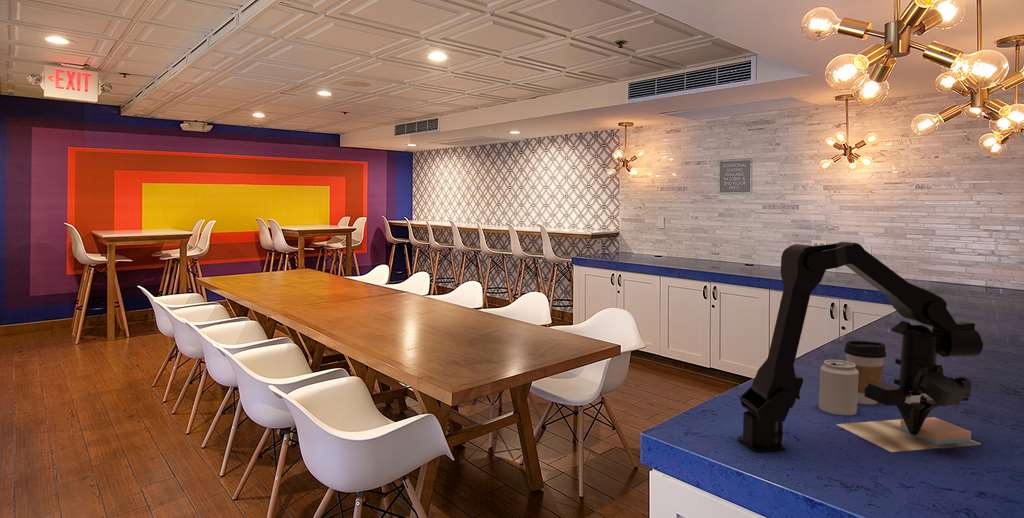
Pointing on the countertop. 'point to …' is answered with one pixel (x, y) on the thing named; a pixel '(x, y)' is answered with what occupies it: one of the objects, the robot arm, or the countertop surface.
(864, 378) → the coffee cup
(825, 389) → the can
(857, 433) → the board
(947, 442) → the tile
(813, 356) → the countertop surface
